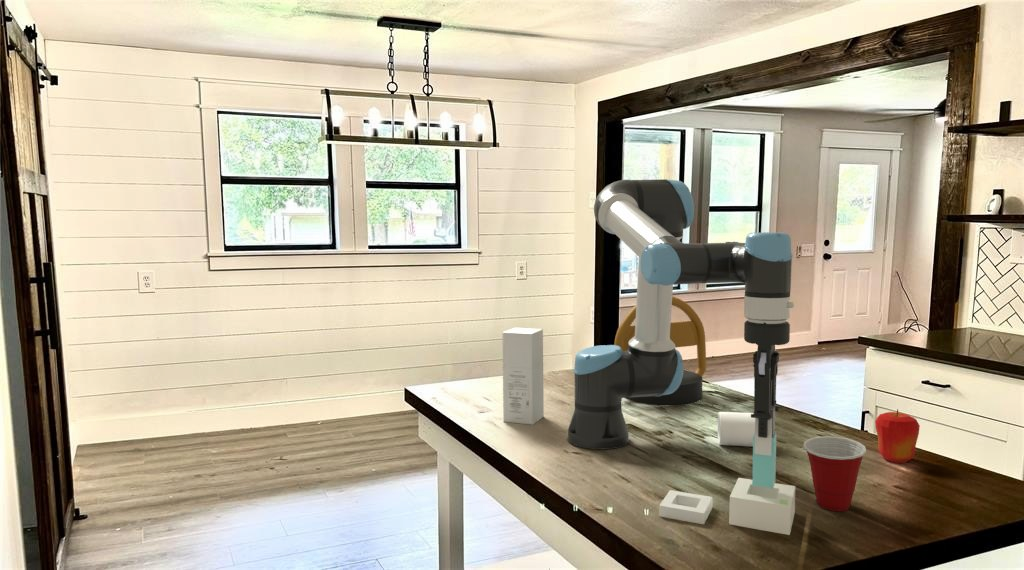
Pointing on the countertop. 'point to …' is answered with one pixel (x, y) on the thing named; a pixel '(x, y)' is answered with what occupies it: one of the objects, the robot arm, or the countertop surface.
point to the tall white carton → (523, 375)
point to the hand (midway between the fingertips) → (764, 450)
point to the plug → (765, 462)
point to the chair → (681, 337)
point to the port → (762, 506)
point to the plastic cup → (834, 470)
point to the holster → (686, 507)
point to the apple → (897, 436)
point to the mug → (735, 429)
